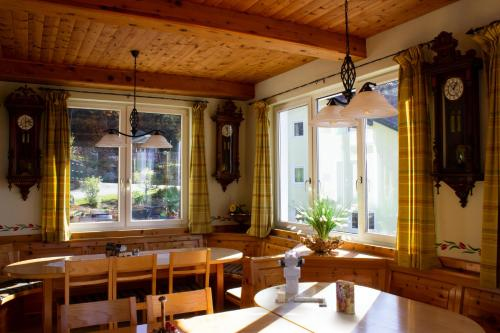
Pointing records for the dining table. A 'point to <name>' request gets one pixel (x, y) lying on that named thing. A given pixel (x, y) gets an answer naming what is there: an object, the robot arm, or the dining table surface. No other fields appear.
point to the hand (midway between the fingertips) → (291, 264)
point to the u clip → (281, 296)
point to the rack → (312, 300)
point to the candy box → (345, 296)
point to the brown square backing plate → (281, 302)
